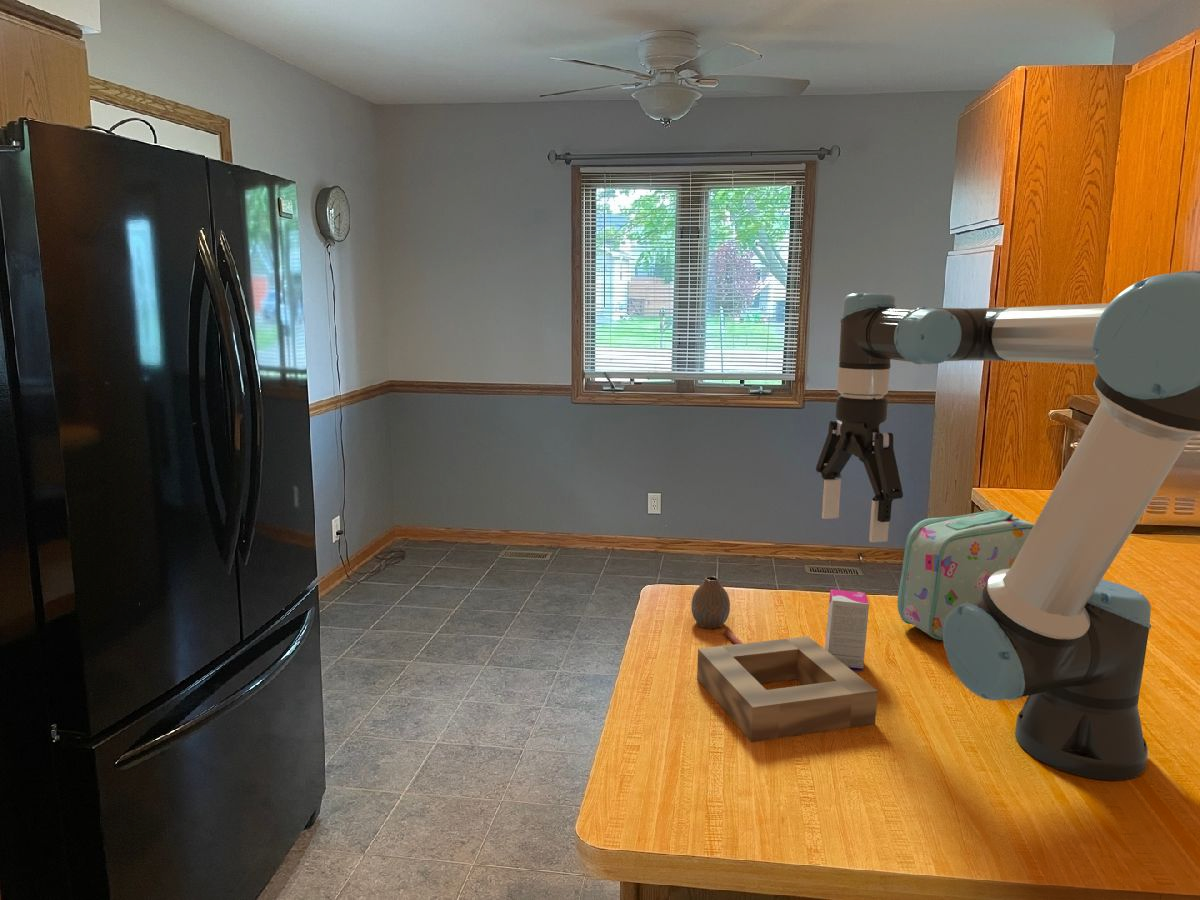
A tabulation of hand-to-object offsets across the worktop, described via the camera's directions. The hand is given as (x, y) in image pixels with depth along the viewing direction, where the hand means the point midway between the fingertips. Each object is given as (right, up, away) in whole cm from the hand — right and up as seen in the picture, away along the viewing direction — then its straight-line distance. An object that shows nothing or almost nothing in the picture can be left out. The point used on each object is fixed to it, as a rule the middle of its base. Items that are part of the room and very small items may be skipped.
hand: (852, 529), depth 131 cm
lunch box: (+26, -20, +20) cm, 38 cm away
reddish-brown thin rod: (-16, -21, +9) cm, 28 cm away
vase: (-20, -19, +19) cm, 34 cm away
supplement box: (0, -22, +4) cm, 23 cm away
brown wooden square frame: (-13, -24, -9) cm, 29 cm away
